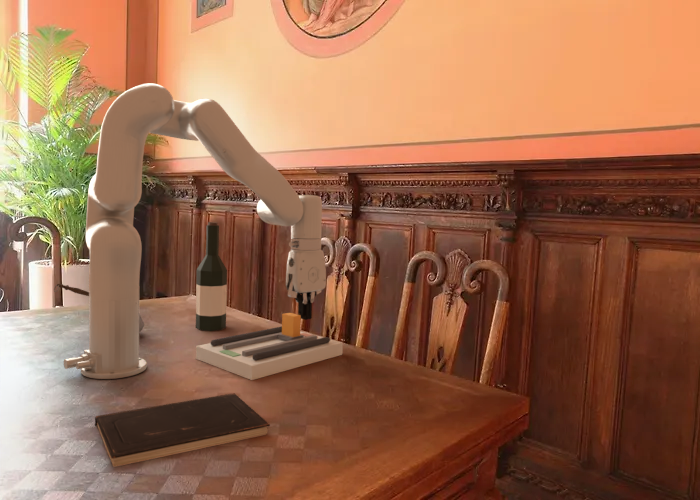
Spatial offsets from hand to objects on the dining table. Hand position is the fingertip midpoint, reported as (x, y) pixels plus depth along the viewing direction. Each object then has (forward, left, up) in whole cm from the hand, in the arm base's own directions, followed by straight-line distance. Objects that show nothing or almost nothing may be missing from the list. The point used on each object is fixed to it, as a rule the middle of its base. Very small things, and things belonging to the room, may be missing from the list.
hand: (304, 318), depth 134 cm
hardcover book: (-48, -21, -9) cm, 53 cm away
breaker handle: (-4, 0, -5) cm, 6 cm away
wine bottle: (-4, +33, -8) cm, 34 cm away
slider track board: (-10, 0, -8) cm, 13 cm away
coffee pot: (-32, +40, -8) cm, 52 cm away
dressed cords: (-10, 0, -5) cm, 12 cm away
